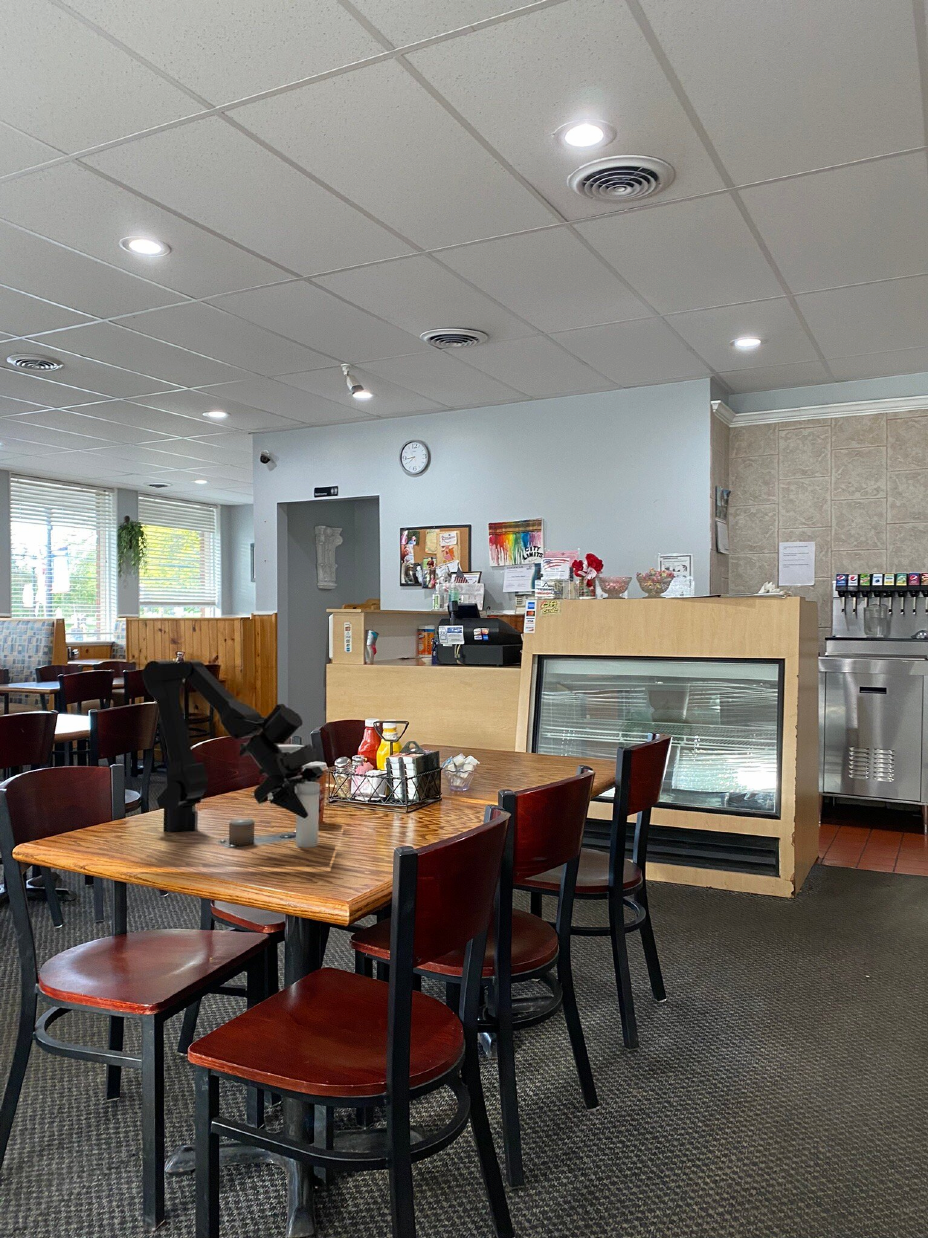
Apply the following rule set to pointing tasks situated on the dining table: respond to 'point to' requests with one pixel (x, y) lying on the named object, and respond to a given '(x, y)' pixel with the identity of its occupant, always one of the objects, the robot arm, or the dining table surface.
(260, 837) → the plate
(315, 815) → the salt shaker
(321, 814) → the paper cup
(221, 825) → the dining table surface
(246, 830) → the grey short cylinder
